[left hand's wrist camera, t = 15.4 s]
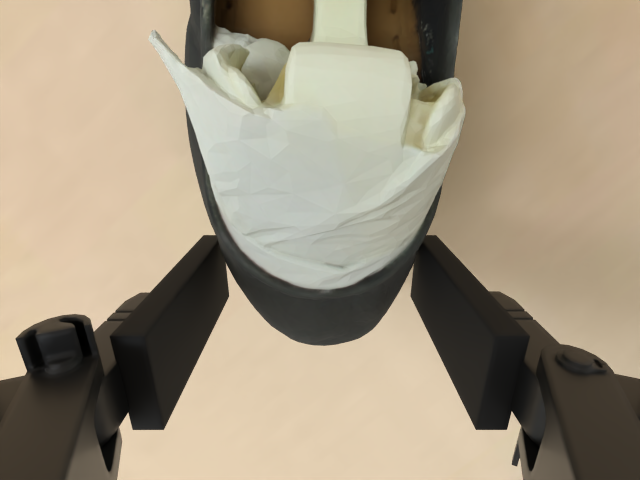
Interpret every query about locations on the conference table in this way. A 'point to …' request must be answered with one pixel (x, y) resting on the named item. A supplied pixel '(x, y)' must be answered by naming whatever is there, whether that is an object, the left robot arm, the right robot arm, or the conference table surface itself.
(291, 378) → the conference table surface
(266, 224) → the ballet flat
